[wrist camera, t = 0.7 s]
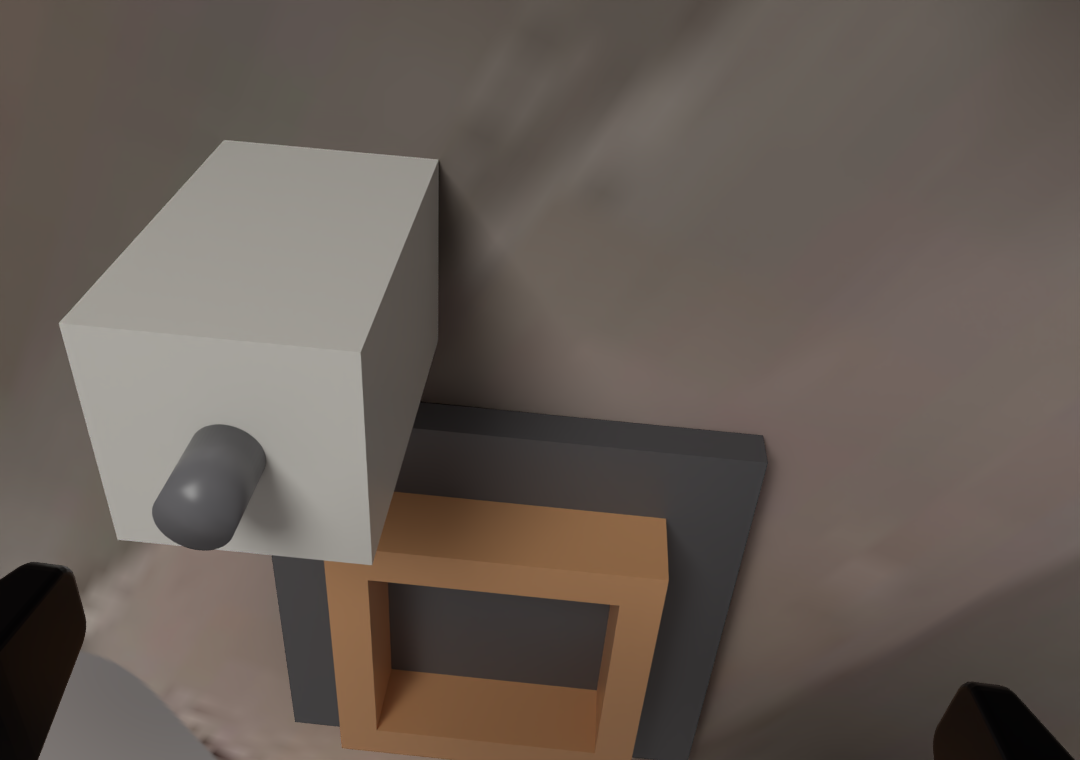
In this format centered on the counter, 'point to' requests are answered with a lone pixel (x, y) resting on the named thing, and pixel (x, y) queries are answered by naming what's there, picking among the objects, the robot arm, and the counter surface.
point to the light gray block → (264, 352)
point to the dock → (529, 591)
